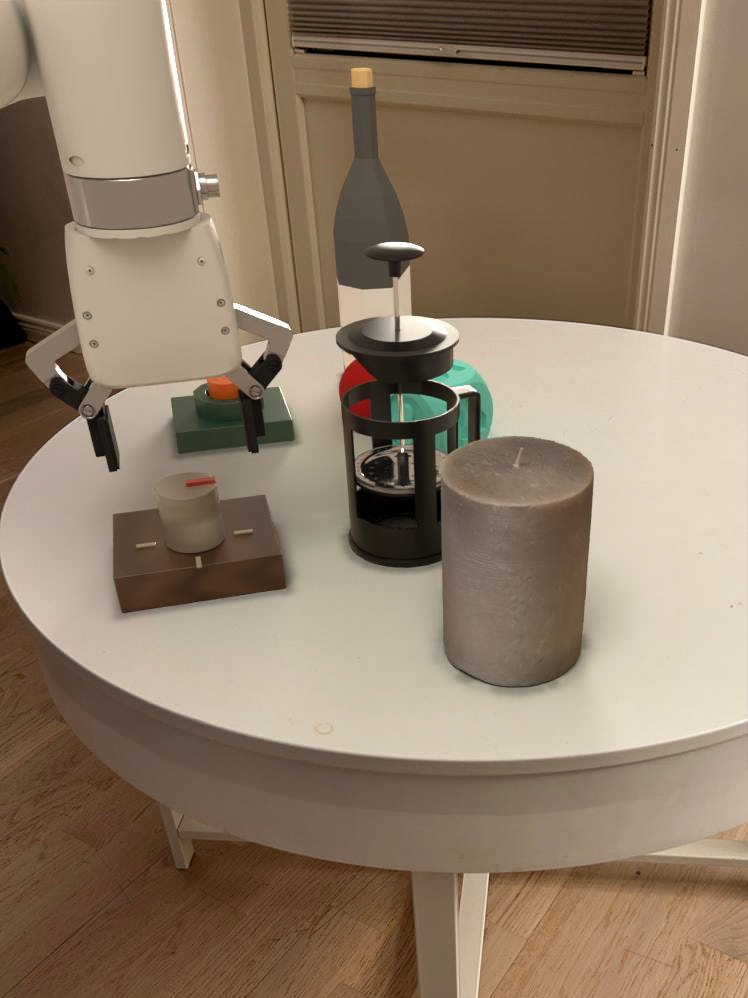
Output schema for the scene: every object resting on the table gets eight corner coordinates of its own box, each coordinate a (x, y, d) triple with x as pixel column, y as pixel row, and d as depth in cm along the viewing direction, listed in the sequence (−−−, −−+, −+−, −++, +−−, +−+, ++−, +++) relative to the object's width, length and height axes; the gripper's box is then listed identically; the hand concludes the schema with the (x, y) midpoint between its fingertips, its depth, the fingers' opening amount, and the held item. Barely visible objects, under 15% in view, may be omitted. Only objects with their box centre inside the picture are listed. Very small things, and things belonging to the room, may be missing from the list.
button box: (179, 454, 95) (171, 414, 92) (174, 417, 102) (167, 380, 99) (294, 440, 97) (290, 401, 95) (282, 406, 104) (278, 369, 102)
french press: (365, 580, 76) (343, 272, 63) (325, 526, 83) (297, 238, 70) (501, 546, 81) (507, 252, 67) (452, 498, 88) (449, 221, 74)
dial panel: (121, 615, 72) (112, 578, 71) (120, 546, 80) (112, 511, 79) (287, 590, 75) (282, 554, 73) (269, 526, 83) (265, 492, 81)
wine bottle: (354, 361, 115) (334, 63, 98) (422, 366, 114) (413, 65, 96) (332, 386, 109) (306, 72, 91) (404, 392, 107) (391, 75, 90)
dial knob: (166, 557, 73) (154, 499, 70) (164, 529, 77) (152, 472, 74) (227, 548, 74) (218, 491, 71) (222, 521, 78) (213, 465, 75)
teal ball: (493, 449, 96) (495, 368, 91) (442, 479, 91) (441, 395, 86) (428, 428, 100) (426, 350, 95) (376, 456, 94) (371, 374, 90)
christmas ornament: (344, 411, 103) (336, 314, 97) (412, 410, 103) (409, 314, 98) (339, 440, 97) (330, 338, 92) (411, 439, 98) (407, 338, 92)
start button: (210, 403, 95) (207, 386, 94) (207, 390, 98) (205, 372, 97) (248, 399, 96) (246, 382, 95) (244, 386, 99) (242, 369, 98)
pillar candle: (566, 603, 74) (579, 413, 65) (594, 684, 66) (613, 479, 57) (436, 611, 73) (431, 419, 64) (448, 694, 65) (445, 488, 56)
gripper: (267, 178, 66) (297, 420, 76) (-10, 197, 62) (59, 449, 72) (283, 202, 61) (312, 460, 71) (-23, 224, 57) (55, 495, 67)
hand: (184, 454), depth 71 cm, fingers open, 9 cm apart
